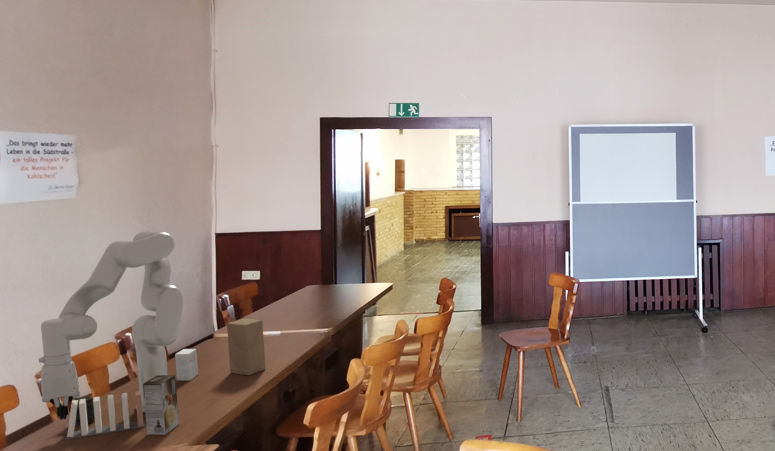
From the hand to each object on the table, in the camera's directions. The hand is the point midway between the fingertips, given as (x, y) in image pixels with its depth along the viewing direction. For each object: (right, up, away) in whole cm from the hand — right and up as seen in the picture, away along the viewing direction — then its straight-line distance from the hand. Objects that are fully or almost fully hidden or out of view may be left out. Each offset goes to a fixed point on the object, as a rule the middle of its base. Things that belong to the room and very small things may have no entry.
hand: (63, 417), depth 221 cm
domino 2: (+6, -5, +2) cm, 8 cm away
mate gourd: (+1, -5, +13) cm, 14 cm away
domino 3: (+10, -5, +4) cm, 11 cm away
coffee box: (+30, -4, +2) cm, 30 cm away
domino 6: (+21, -4, +8) cm, 23 cm away
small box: (+22, -1, +60) cm, 63 cm away
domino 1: (+2, -5, +1) cm, 6 cm away
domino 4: (+13, -5, +5) cm, 15 cm away
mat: (+12, -5, +4) cm, 13 cm away
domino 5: (+17, -4, +6) cm, 19 cm away
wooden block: (+44, +1, +65) cm, 78 cm away
